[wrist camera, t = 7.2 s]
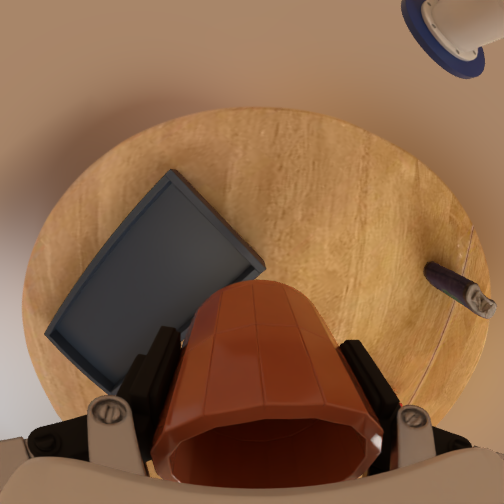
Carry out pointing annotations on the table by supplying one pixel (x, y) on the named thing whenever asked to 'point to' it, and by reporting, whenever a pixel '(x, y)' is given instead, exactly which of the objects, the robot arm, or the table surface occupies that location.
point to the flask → (460, 289)
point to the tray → (149, 280)
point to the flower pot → (263, 397)
